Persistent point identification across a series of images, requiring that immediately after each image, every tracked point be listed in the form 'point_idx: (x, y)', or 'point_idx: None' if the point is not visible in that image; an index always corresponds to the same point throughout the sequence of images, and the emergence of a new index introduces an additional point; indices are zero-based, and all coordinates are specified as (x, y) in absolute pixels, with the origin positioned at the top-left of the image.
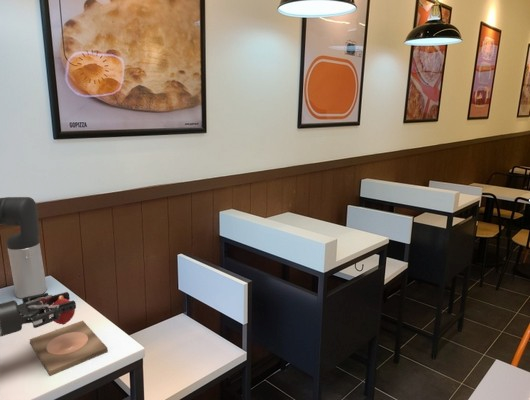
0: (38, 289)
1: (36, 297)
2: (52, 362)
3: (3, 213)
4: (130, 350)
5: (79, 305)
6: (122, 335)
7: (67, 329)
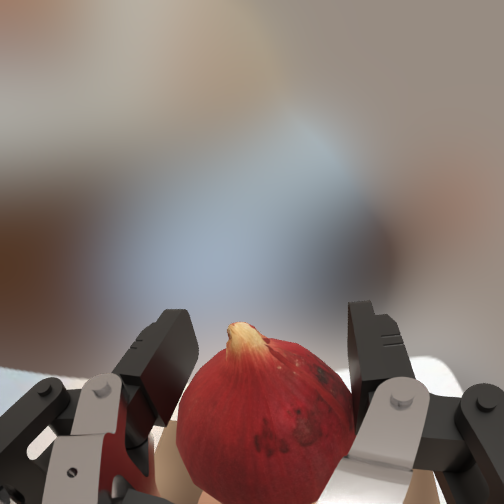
0: None
1: (11, 450)
2: None
3: None
4: (435, 369)
5: (75, 387)
6: (343, 372)
7: (174, 475)
